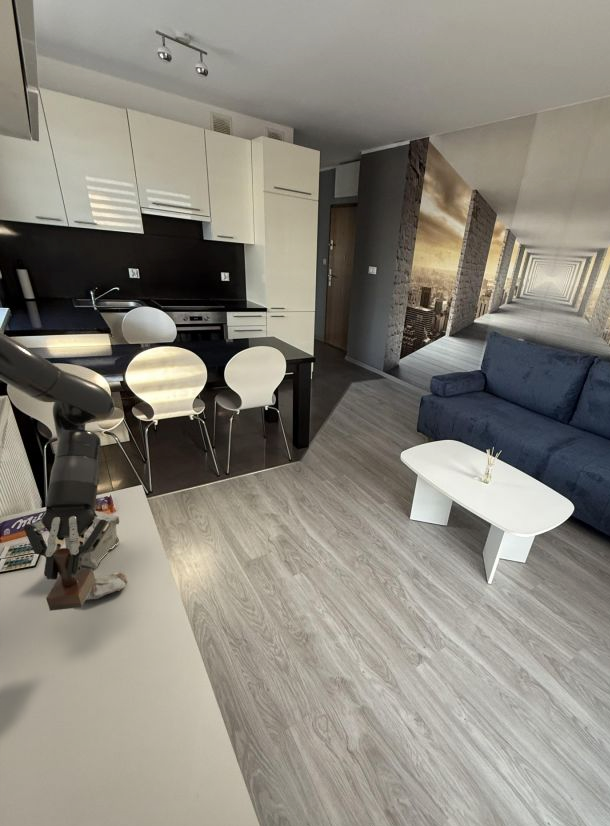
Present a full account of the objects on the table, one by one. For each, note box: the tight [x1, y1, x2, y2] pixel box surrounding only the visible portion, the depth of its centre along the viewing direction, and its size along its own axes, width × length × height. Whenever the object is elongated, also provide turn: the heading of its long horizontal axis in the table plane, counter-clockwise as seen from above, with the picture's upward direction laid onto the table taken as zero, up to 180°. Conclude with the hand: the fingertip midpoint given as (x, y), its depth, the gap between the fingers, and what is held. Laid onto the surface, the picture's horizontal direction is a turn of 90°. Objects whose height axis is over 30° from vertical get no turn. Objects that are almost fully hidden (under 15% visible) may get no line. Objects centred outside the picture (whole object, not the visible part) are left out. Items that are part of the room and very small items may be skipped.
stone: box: [85, 571, 128, 601], centre depth 90 cm, size 10×7×3 cm
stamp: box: [45, 547, 96, 612], centre depth 72 cm, size 5×7×10 cm
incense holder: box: [64, 510, 120, 570], centre depth 99 cm, size 10×8×10 cm
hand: (62, 578), depth 70 cm, fingers closed on stamp, 2 cm apart
